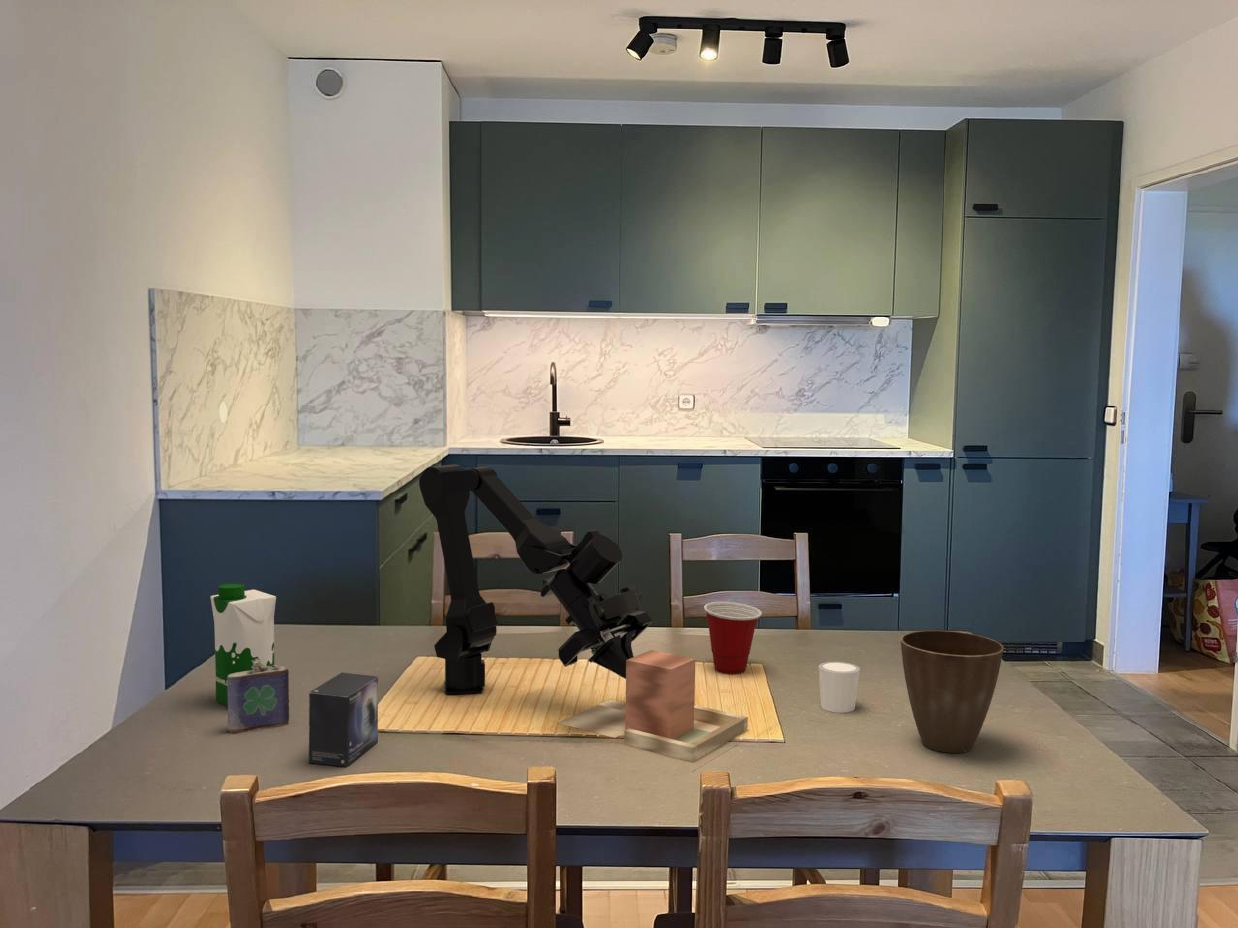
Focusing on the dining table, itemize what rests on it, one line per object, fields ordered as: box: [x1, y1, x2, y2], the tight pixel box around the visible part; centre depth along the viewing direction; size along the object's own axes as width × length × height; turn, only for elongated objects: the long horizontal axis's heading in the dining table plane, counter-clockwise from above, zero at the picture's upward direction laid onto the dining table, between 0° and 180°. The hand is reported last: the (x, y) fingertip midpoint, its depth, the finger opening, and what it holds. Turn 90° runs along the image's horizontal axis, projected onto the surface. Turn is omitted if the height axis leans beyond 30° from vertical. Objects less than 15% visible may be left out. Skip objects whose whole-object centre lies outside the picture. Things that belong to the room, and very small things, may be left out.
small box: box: [307, 672, 379, 767], centre depth 155 cm, size 11×6×10 cm, turn 168°
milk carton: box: [209, 582, 277, 708], centre depth 177 cm, size 9×9×20 cm
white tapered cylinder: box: [818, 661, 861, 714], centre depth 179 cm, size 7×7×7 cm
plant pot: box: [900, 630, 1005, 754], centre depth 162 cm, size 15×15×16 cm
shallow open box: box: [556, 699, 749, 772], centre depth 164 cm, size 25×16×4 cm, turn 55°
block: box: [625, 650, 696, 740], centre depth 162 cm, size 8×7×11 cm
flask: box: [227, 658, 290, 734], centre depth 166 cm, size 9×3×11 cm, turn 121°
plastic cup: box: [703, 601, 763, 675], centre depth 199 cm, size 11×11×12 cm
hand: (637, 681), depth 165 cm, fingers closed, pressing on block
